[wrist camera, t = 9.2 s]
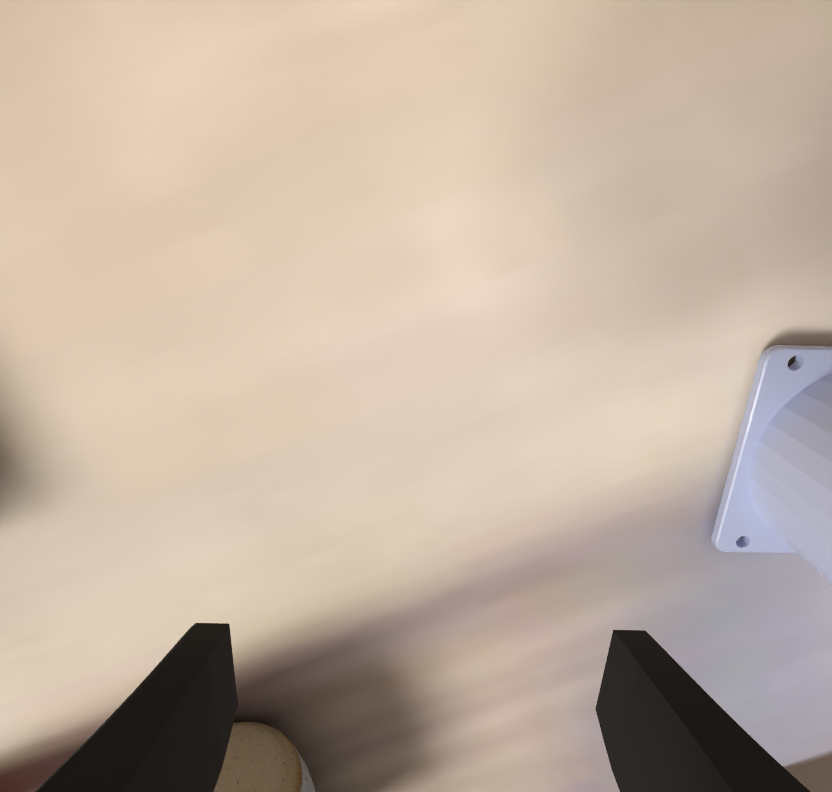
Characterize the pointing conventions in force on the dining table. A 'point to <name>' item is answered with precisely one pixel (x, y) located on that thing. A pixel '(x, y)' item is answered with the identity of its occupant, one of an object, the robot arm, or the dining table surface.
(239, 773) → the ceramic mug
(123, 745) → the robot arm
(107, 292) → the dining table surface
